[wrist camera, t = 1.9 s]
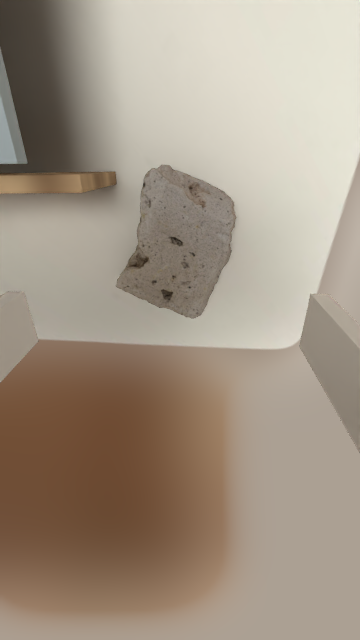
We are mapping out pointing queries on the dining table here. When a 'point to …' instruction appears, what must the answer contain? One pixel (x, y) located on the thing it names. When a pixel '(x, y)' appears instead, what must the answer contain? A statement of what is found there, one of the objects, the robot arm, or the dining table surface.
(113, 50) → the dining table surface
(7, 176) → the frame
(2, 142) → the blue-grey flat square block
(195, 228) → the stone
